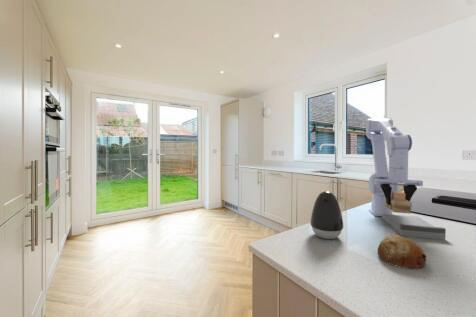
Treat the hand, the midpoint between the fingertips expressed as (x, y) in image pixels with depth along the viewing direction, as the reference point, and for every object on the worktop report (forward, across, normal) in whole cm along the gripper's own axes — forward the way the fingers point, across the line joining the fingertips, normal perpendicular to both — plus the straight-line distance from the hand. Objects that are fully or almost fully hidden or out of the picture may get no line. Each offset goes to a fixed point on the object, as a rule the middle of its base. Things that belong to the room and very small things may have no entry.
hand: (397, 204), depth 81 cm
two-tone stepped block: (+2, 0, 0) cm, 2 cm away
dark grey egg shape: (+9, -26, -16) cm, 32 cm away
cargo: (-2, 0, 0) cm, 2 cm away
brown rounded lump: (+9, -8, -27) cm, 30 cm away
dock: (+8, +4, 0) cm, 9 cm away
